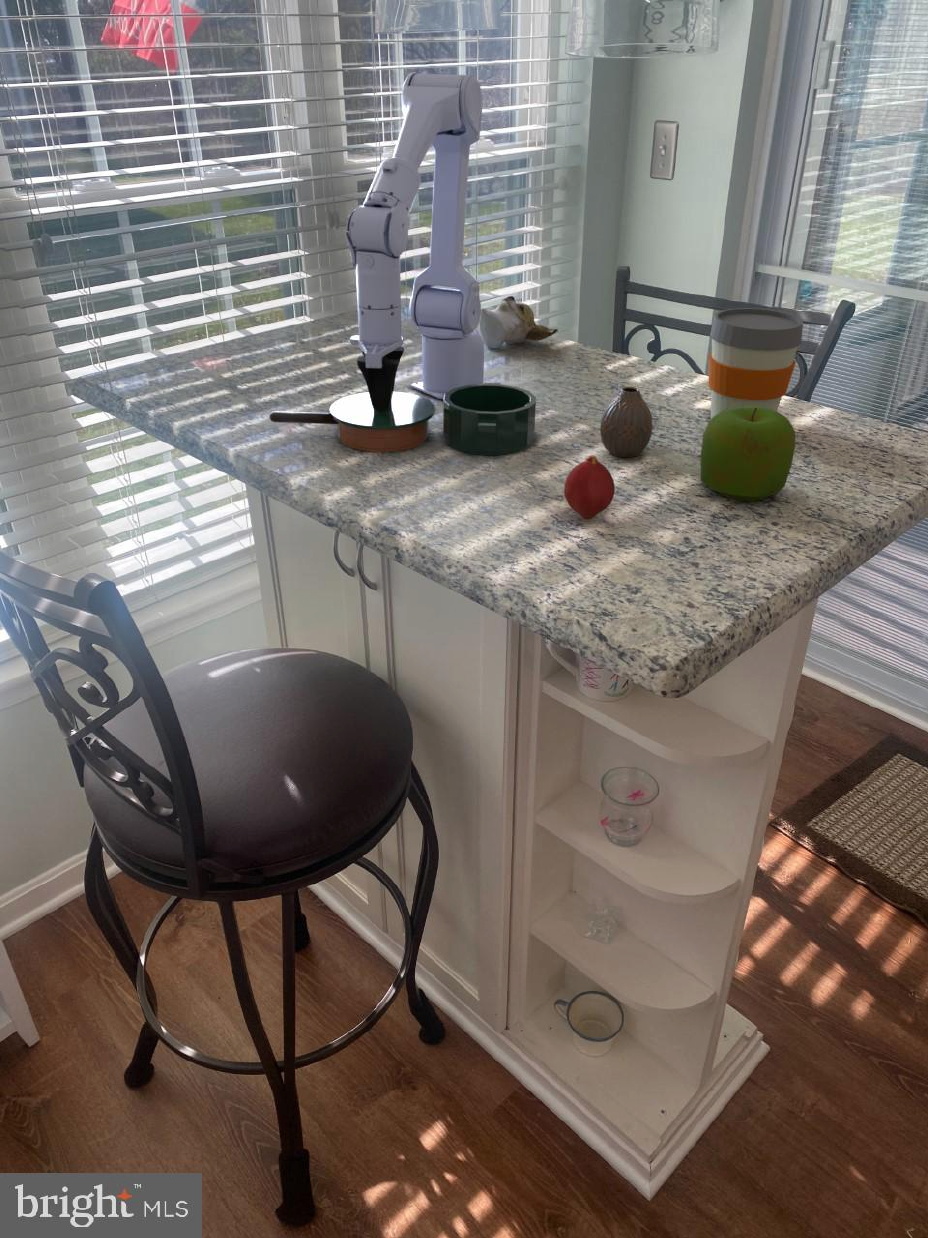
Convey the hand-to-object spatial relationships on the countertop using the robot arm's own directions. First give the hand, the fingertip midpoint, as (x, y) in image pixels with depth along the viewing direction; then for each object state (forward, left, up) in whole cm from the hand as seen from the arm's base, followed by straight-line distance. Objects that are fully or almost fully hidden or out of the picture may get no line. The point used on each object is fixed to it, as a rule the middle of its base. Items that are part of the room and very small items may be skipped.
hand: (382, 404), depth 136 cm
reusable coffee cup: (-46, +27, -5) cm, 53 cm away
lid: (0, 0, -1) cm, 1 cm away
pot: (-11, +10, -4) cm, 16 cm away
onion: (-4, +37, -5) cm, 37 cm away
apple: (-25, +43, -5) cm, 50 cm away
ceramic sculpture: (-46, -25, -5) cm, 52 cm away
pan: (0, 0, -4) cm, 4 cm away
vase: (-23, +25, -5) cm, 34 cm away
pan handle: (+8, -7, -3) cm, 11 cm away
